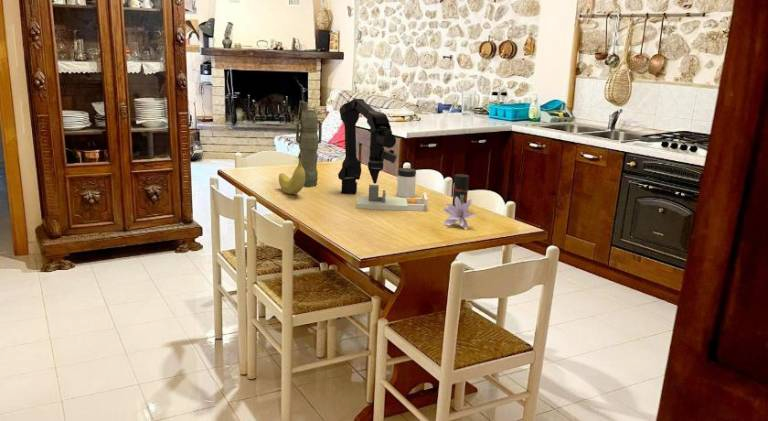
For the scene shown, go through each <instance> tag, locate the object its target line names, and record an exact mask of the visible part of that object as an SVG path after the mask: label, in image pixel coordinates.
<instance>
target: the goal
mask: <svg viewBox="0 0 768 421" xmlns="http://www.w3.org/2000/svg"><path fill="white" fill-rule="evenodd" d="M409 198H410V197H409ZM409 198H408V197H407V211H415V212H416V211H418V212H419V211H420V212H427V211H428V203H429V202H428V196H427V193H426V192H423V193H422V197H414V198H415V199H416V200H417V204H408V199H409Z"/></svg>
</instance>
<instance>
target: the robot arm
mask: <svg viewBox="0 0 768 421" xmlns="http://www.w3.org/2000/svg"><path fill="white" fill-rule="evenodd" d="M339 114H340V120H341V121H342V123H343V125H344V148H345V154H344V155H345V156H344V157H345V158H344V160H343V161H342V163H341V168H340V171H339V172H338V174H337V177H338V180H340V181H341V190H340V194H345V195H355V194H356V193H357V192H358V182H357V180H360V179H361V175H362V162H361V160H359V159H358V158H357V130H356V129H357V126H356V125H357V123H358V121H359V119H360V114H361V115H362V116H363V117H364V119H365V118H366V124H367V125H368V127H370V128H369V129H368V131H367V132H369V133H370V139H369V157H368V162H367V168H368V172H369V175H370V176H371V180H372V183H373V185H377V182H378V178H379V174H380V172H381V171H383V169H384V163H385V162H384V160H385V161H388V162H390V163H391V164H395V162H396V159H397V157H398V155H397V154H396V153H395V150H394V149H392V148H393V147H395V145H396V143H397V138H396V136H395V134H393V131H392V127H391V124H390V121H389V118H388V116H387V114H385V113H383V112H381V111H377V110H375V109H374V108H373V107H372V106H370V105H369V104H368V103H367V102H365V99H364V98H353V99H351V100H350V101H348V102H345V103H343V104H342V105H341V106H340V107H339ZM385 148H387V149H390V150H386V149H385Z"/></svg>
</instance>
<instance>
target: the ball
mask: <svg viewBox="0 0 768 421" xmlns="http://www.w3.org/2000/svg"><path fill="white" fill-rule="evenodd" d="M415 198H416V197H409V199H408V204H417V200H416V199H415Z"/></svg>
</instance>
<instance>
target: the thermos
mask: <svg viewBox="0 0 768 421" xmlns="http://www.w3.org/2000/svg"><path fill="white" fill-rule="evenodd" d="M322 129H323V124H322V122H321V121H320V120H318V114H317V111H315V110H312V109H304V110H302V113H301V116H300V119H299V120H297V121H296V124H295V142H296V143H297V144H298V148H299V153H302V159H301V164H302V167H303V169H304V171H305V183H304V186H305V187H304V188H312V187H311V186H315V187H317V186H318V179H319V178H318V177H319V176H318V175H319V172H318V169H317V168H318V167H317V163H318V150H319V144H321V143H322V131H323V130H322ZM316 185H317V186H316Z"/></svg>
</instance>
